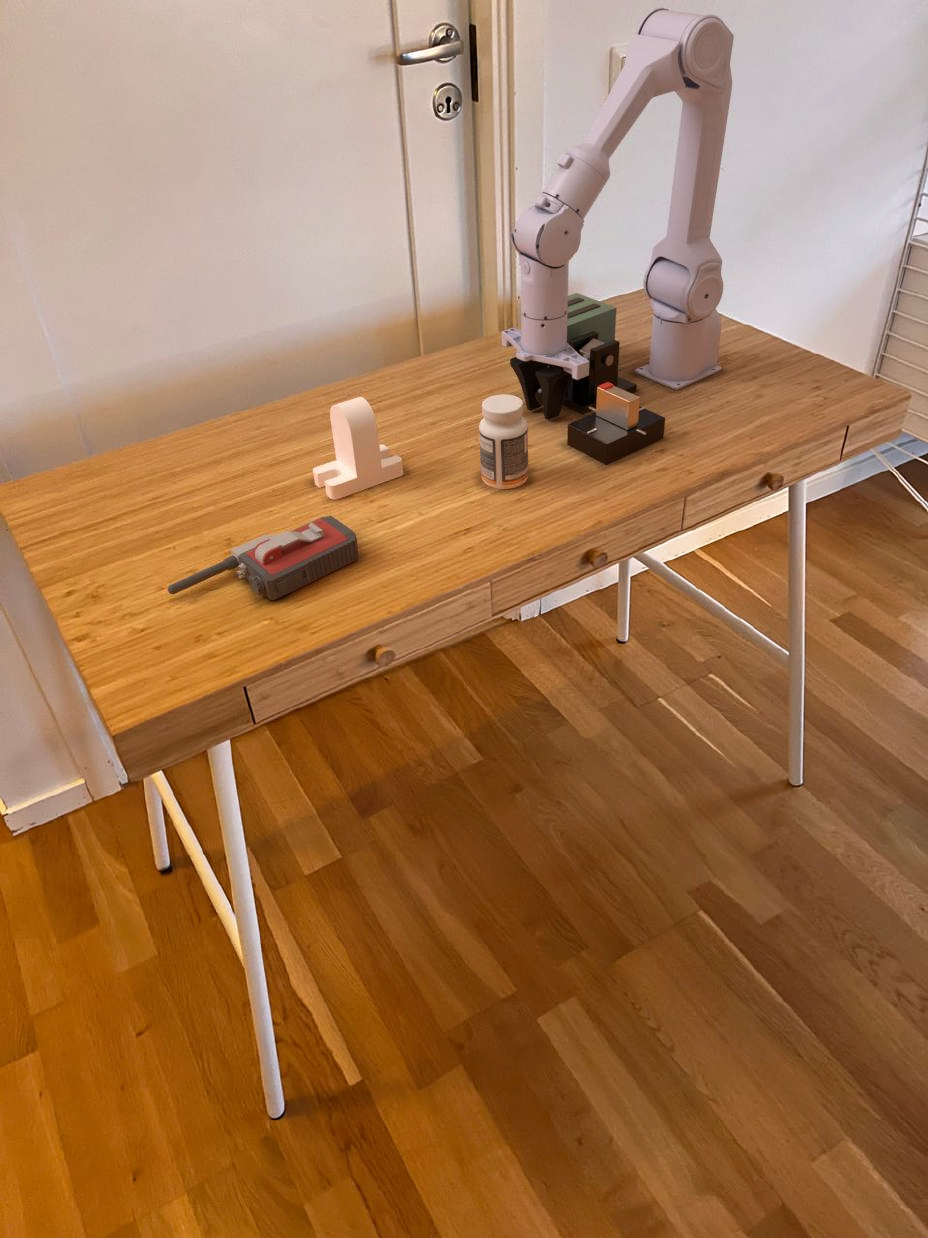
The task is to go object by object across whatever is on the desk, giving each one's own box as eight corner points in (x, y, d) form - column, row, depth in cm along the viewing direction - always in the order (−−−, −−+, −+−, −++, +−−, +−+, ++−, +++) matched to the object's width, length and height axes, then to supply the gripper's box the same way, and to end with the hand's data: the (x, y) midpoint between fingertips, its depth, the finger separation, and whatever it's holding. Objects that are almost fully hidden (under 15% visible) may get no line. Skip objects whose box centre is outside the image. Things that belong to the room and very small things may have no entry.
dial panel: (616, 416, 126) (617, 394, 124) (671, 443, 120) (674, 420, 118) (559, 441, 121) (560, 419, 119) (614, 470, 115) (615, 447, 113)
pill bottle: (529, 467, 117) (529, 391, 111) (527, 491, 112) (526, 414, 106) (483, 466, 117) (480, 391, 111) (478, 491, 113) (475, 414, 107)
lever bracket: (583, 415, 127) (584, 359, 122) (547, 398, 131) (548, 343, 126) (636, 392, 131) (640, 337, 126) (600, 376, 136) (603, 322, 131)
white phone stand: (405, 474, 117) (398, 398, 111) (333, 500, 113) (321, 423, 107) (383, 457, 120) (375, 383, 114) (313, 482, 116) (300, 406, 110)
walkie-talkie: (327, 523, 109) (166, 596, 100) (322, 489, 106) (156, 562, 97) (372, 555, 104) (206, 636, 94) (367, 521, 101) (196, 601, 91)
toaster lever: (547, 413, 125) (542, 395, 123) (532, 405, 127) (526, 387, 125) (611, 360, 128) (607, 341, 126) (595, 353, 130) (591, 335, 127)
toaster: (575, 352, 142) (576, 291, 137) (613, 369, 137) (616, 306, 131) (526, 371, 138) (526, 308, 132) (564, 389, 133) (565, 325, 127)
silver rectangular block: (638, 425, 117) (640, 395, 115) (627, 430, 117) (629, 399, 114) (605, 410, 121) (607, 380, 118) (595, 415, 120) (596, 385, 117)
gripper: (482, 304, 121) (485, 403, 129) (559, 337, 112) (557, 441, 120) (524, 289, 124) (525, 387, 133) (603, 321, 115) (598, 423, 124)
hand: (543, 412), depth 127 cm, fingers closed on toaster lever, 3 cm apart
